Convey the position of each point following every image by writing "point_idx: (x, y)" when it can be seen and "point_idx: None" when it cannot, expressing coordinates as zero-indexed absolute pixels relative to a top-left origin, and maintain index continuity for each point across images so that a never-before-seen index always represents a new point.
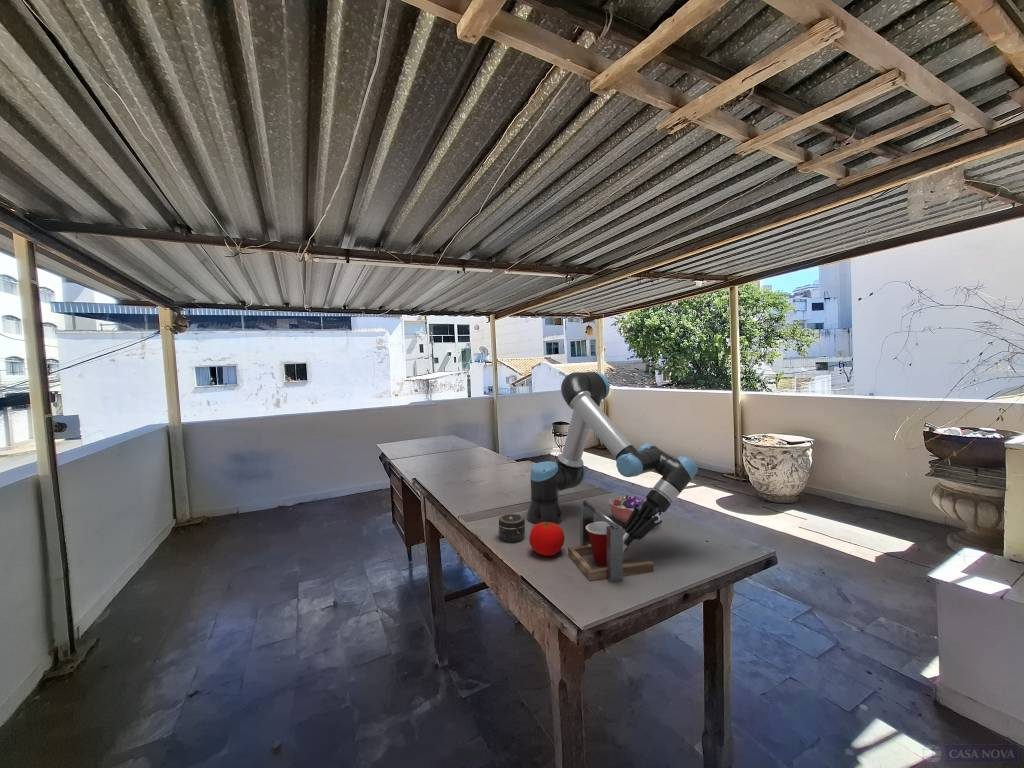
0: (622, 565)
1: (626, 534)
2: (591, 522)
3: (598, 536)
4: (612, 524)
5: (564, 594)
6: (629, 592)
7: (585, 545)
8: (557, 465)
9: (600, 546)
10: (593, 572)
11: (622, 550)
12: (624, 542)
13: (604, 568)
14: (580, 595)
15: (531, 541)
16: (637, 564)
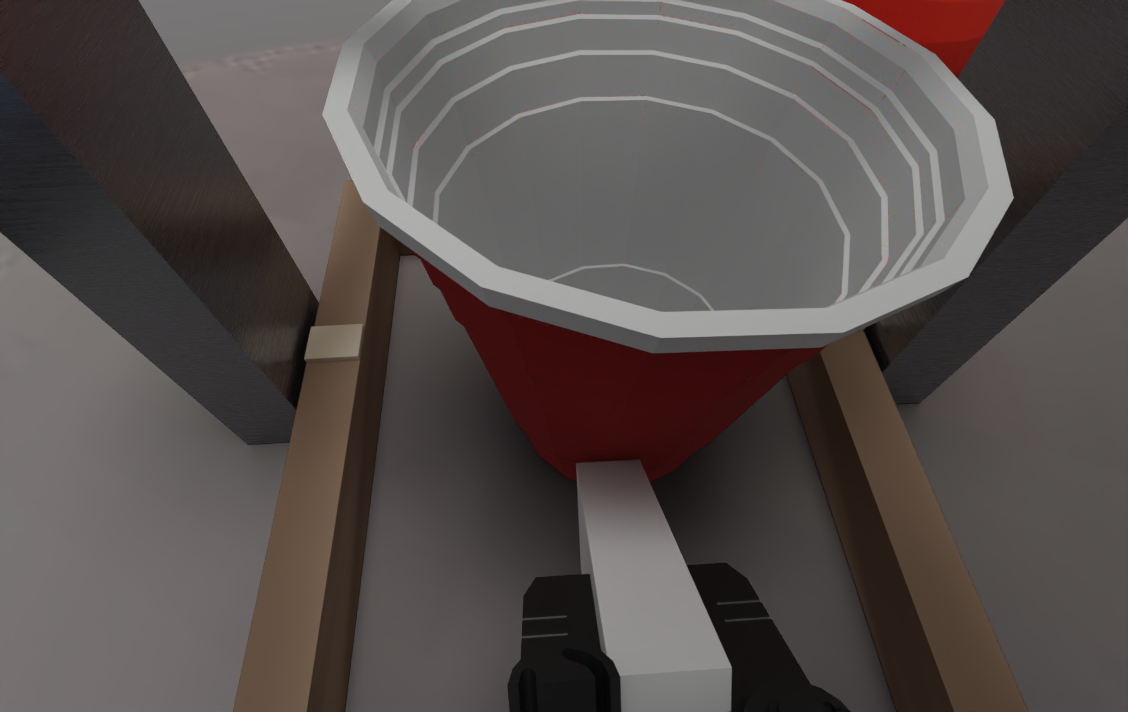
0: (163, 365)
1: (645, 645)
2: (1060, 125)
3: (467, 58)
4: None
5: (295, 96)
6: (79, 421)
7: None
8: None
9: (491, 203)
10: (341, 207)
11: (14, 237)
12: (568, 582)
13: (355, 290)
14: (243, 150)
15: None
16: (274, 671)
